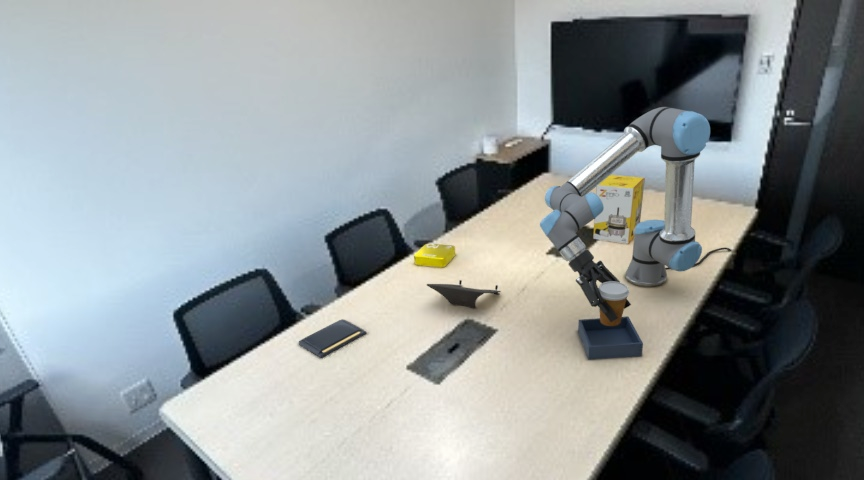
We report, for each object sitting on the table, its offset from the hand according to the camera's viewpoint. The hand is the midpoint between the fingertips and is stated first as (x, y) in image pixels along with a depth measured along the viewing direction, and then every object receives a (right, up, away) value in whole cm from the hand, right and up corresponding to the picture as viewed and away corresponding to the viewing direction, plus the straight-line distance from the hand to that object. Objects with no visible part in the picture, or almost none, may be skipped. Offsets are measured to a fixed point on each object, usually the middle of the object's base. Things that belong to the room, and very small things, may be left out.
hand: (621, 313), depth 167 cm
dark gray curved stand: (-47, +7, +40) cm, 62 cm away
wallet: (-95, -8, +24) cm, 99 cm away
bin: (-2, -10, +8) cm, 13 cm away
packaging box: (+23, +40, +82) cm, 94 cm away
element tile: (-61, +27, +75) cm, 100 cm away
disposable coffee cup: (-2, -3, +4) cm, 5 cm away
